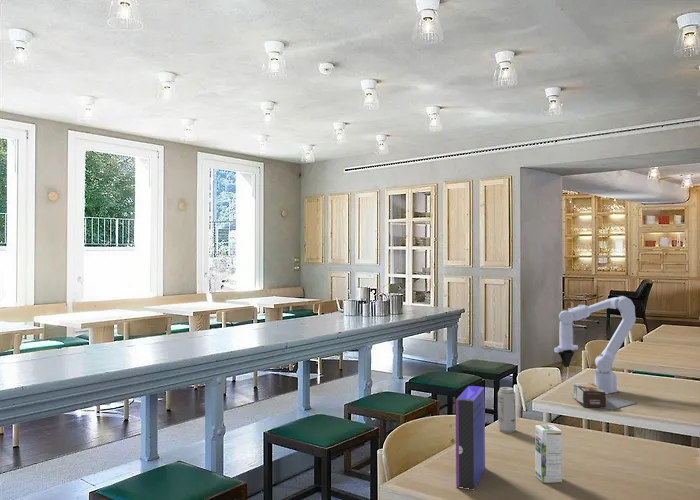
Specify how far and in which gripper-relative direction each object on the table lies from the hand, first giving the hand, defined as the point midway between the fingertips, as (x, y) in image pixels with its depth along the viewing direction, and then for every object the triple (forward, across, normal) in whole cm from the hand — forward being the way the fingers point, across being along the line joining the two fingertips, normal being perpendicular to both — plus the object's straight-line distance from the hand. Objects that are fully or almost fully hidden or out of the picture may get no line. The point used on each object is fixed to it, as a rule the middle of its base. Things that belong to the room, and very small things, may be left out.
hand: (566, 366), depth 269 cm
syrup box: (+11, +93, +64) cm, 113 cm away
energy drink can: (+11, +69, +27) cm, 75 cm away
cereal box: (+11, +110, +51) cm, 122 cm away
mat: (+10, +6, +24) cm, 27 cm away
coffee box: (+7, +7, +14) cm, 17 cm away
